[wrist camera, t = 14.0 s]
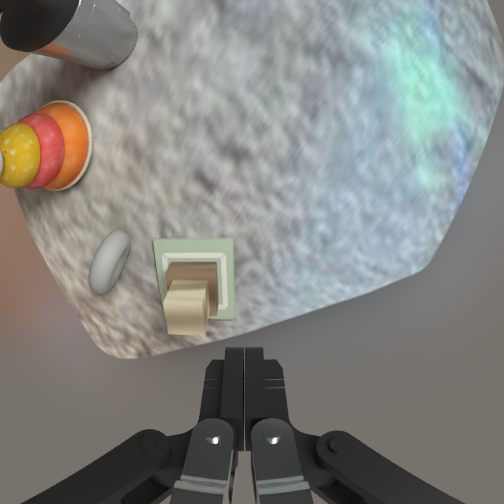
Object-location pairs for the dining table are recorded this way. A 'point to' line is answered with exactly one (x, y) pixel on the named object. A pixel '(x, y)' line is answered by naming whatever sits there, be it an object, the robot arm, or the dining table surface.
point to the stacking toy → (46, 148)
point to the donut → (109, 262)
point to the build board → (200, 252)
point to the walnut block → (196, 278)
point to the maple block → (187, 307)
